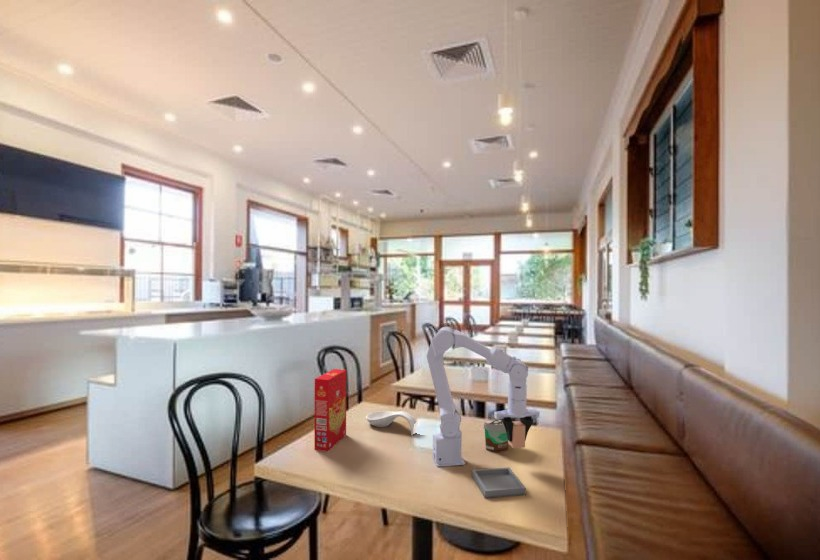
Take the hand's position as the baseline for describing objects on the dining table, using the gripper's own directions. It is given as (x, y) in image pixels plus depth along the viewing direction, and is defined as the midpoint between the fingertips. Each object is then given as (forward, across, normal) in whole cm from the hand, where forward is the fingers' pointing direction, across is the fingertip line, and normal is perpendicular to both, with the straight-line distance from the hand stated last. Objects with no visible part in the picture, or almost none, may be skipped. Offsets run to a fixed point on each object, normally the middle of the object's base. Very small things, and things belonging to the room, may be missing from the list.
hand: (516, 440), depth 130 cm
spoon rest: (+9, +36, -38) cm, 53 cm away
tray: (+9, +10, +10) cm, 17 cm away
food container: (+9, 0, -13) cm, 16 cm away
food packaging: (+9, +60, -27) cm, 66 cm away
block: (+2, 0, 0) cm, 2 cm away
